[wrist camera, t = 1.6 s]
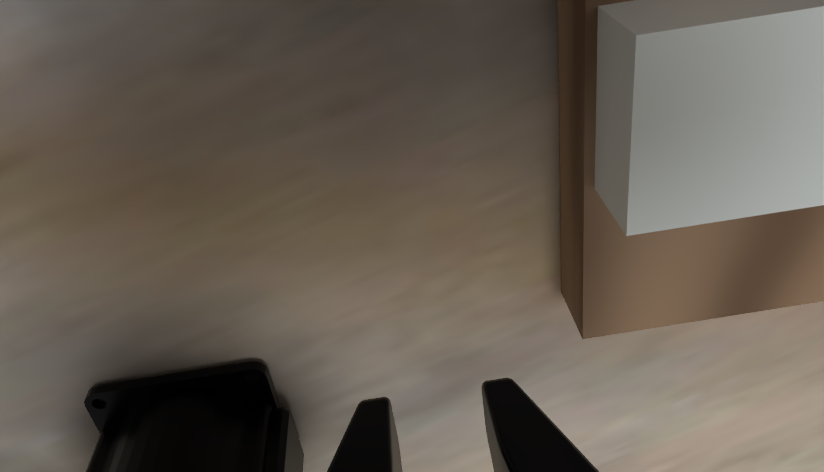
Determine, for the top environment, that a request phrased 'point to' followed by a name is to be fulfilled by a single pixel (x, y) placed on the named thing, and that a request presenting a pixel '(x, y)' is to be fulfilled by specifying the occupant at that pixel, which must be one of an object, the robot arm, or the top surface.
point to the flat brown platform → (668, 249)
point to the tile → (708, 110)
